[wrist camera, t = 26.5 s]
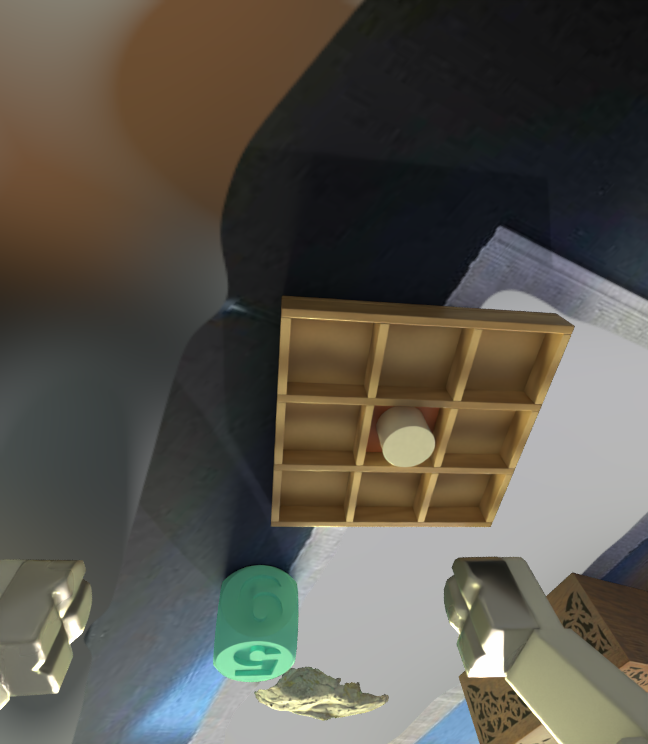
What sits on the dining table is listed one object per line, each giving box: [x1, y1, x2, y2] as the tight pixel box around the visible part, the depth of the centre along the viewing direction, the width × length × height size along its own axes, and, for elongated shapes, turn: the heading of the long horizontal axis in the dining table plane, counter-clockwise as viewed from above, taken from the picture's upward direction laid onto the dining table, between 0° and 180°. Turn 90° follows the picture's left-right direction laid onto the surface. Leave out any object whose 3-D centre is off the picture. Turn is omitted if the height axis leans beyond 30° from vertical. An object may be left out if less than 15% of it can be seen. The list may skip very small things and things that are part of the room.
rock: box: [254, 667, 389, 720], centre depth 61 cm, size 19×11×2 cm, turn 51°
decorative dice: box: [213, 565, 298, 682], centre depth 45 cm, size 8×8×8 cm
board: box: [271, 296, 575, 527], centre depth 37 cm, size 22×22×3 cm
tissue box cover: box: [459, 573, 648, 744], centre depth 55 cm, size 26×14×10 cm, turn 156°
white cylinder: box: [376, 406, 435, 467], centre depth 36 cm, size 4×4×3 cm
